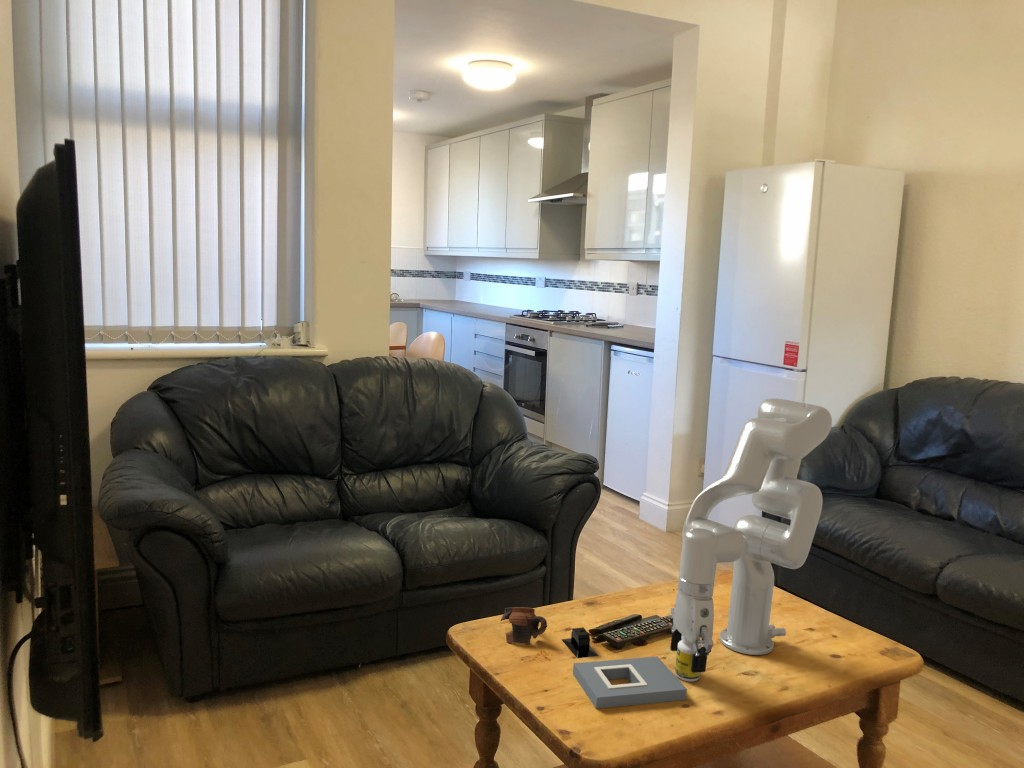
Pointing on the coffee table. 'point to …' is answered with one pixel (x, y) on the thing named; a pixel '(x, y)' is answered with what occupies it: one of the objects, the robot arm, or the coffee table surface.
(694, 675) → the supplement bottle
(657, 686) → the board
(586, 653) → the black stand
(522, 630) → the pottery mug
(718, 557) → the robot arm
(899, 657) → the coffee table surface
